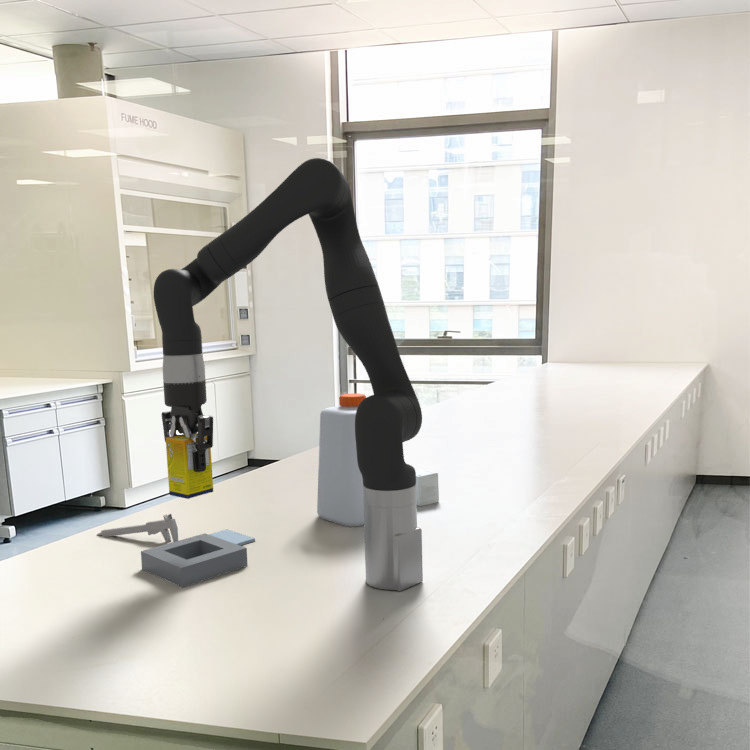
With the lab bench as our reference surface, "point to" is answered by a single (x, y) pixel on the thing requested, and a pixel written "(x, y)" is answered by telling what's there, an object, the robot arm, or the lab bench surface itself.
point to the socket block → (193, 559)
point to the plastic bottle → (340, 464)
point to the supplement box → (186, 469)
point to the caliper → (148, 529)
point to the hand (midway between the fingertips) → (189, 468)
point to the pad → (233, 537)
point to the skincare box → (426, 487)
